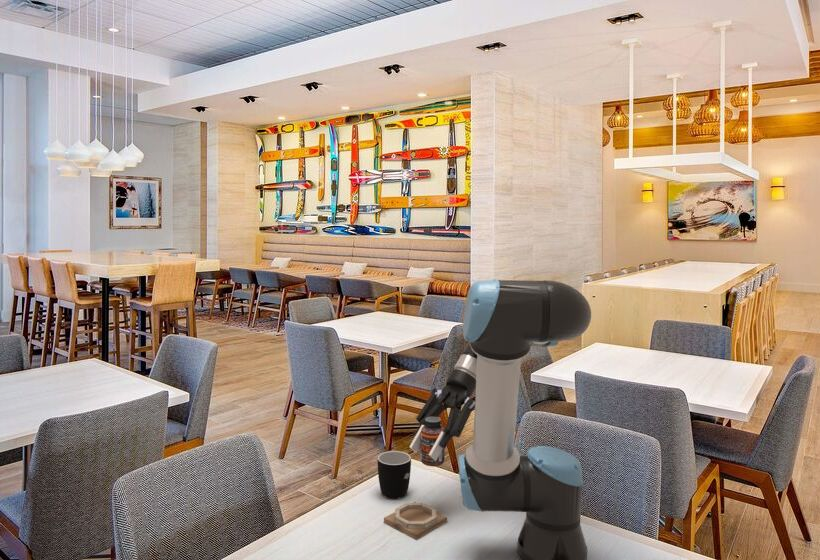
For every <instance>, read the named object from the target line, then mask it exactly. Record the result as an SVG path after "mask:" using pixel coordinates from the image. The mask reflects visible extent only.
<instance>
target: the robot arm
mask: <svg viewBox="0 0 820 560" xmlns="http://www.w3.org/2000/svg"><path fill="white" fill-rule="evenodd" d="M463 317H464V318H463V324H462V325H463V326H462V329H463V330H462V333H463V334H462V335H463V339H464V340H465V341H466V342H468V343H467V344H466V346H465V348H464V350H463V352H462V353H461V354H460V357H459V358H458V360H457V362H456V363H455V365H454V366H453V370H451V372H450V374H449V375H448V377H447V379H446V384H445V386H444V387H443V388H441V389H437V388H432V390H431V393H430V395H429V398H428V399H427V400H426V402H425V404H424V406H422V408H421V410H420V411H419V413H418V415H417V416H416V418H415V419H416V421H417V422H418V423H419V425H418V428H417V429H416V430H415V433H414V438H413V439H412V441H411V443H410V445H409V448H410V449H411V450H412V452H414V453H416V454H418V452H419V450H420V449H421V429H422V427H423V426H425V419H426V418H427V417H438V418H439V416H440V415H441V414H442V413H443V412H444V411H447V410H448V409H449V408H450V409H449V413H448V418H447V421H446V425H445V428H444V429H443V430H444V432H445V433H444V432H442V431H441V433H440V435H439V437H438V438H437V440H436V442H435V444H434V446H433V448H432V449H431V451H430V453H429V456H430V457H432V458H433V459H434V460H435V461H436V460H437V458H438V457H439V455H440V453H441V451H442V449H443V448H445V449H446V448H447V446H448V444H449V442H450V441H451V439H452V438H454V437H456V438H460V437H461V435H462V433H463V430H464V429H465V426H466V424H467V422H468V420H469V418H470V416H471V413H472V411H474V414H473V415H474V417H473V440H472V442H471V443H470V444H469V445H468V446H467V447H466V450H465V453H463V454H460V455H458V459H457V460H458V473H459V480H460V493H461V500H462V505H463V506H464V508H466V509H467V510H468V511H476V512H477V511H478V512H482V513H484V512H503V513H504V512H505V513H506V512H507V513H508V512H509V513H510V512H512V513H514V512H515V513H516V512H517V513H525V519H524V522H523V524H522V527H521V530H520V531H519V533H518V534H519V535H518V537H517V542H516V544H517V545H516V548H517V549H516V552H517V555H518V557H519V559H520V560H588V553H589V552H588V546H587V544H586V540H585V539H586V538H585V537H584V532H583V529H582V527H581V526H582V525H581V515H582V512H581V511H582V496H583V495H582V489H583V484H584V481H583V468H582V464H581V462H580V460H579V459H578V458H577V457H575V456H574V455H573V454H571V453H569V452H567V451H566V450H563V449H561V448H557V447H553V446H545V445H536V446H532V447H530V448H529V449H528V451H527V453H526V455H520V452H519V451H518V449H517V447H515V436H516V425H517V412H518V401H519V399H518V398H519V389H520V376H521V364H522V359H524V358H525V357H526V356H528V355H529V353H530V351H531V347H541V348H548V347H556V346H558V344H559V342H563V341H569V340H573V339H576V338H578V337H580V336H581V335H583V334H584V333H585V331H587V329H588V328H589V326H590V323H591V321H592V309H591V306H590V304H589V301H588V300H587V298H586V297H585V296H584V295H583V293H582V292H580V291H579V290H578V289H576V288H575V287H573V286H571V285H569V284H566V283H564V282H561V281H555V280H548V279H547V280H515V279H514V280H511V279H510V280H507V279H506V280H503V279H498V278H494V279H491V280H477V281H475V282H473V283H472V284H471V285H470V287H469V290H468V293H467V296H466V302H465V306H464V316H463ZM474 392H475V395H474V399H475V400H474V399H473V398H471V397H470V396H472V395H473V394H474Z"/></svg>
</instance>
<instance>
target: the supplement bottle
mask: <svg viewBox="0 0 820 560" xmlns="http://www.w3.org/2000/svg"><path fill="white" fill-rule="evenodd" d="M443 429H445V428H444V427H443V426H442V419H441V418H440V417H439V416H438V417H427V418H426V419H425V426H423V427H422V429H421V446H420V461H421V464H423V465H424V466H426V467H439V466H441V465H442V466H443V464H444V463H445V452H446V450H445V449H446V447H445V448H443V449H442V451H441V453H440V455H439V457H438V458H437V460H436V461H435V460H434V459H433V458H432V457H430V456H429V453H430V451H431V449H432V448H433V446H434V444H435V442H436V440H437V438H438V437H439V435H440V433H441V431H442V432H444V430H443ZM444 433H445V432H444Z"/></svg>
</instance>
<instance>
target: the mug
mask: <svg viewBox="0 0 820 560" xmlns="http://www.w3.org/2000/svg"><path fill="white" fill-rule="evenodd" d="M411 470H412V457H411V455H410V454H408V453H407V452H404V451H402V450H401V451H399V450H388V451H385V452H382V453H380V454H379V455H378V457H377V473H378V475H377V476H378V484H379V488H380V492H381V494H382V495H383V497H384V498H387V499H390V500H397V499H398V498H399V499H402V498H403V496H404V497H405V496H406V494H407V493H408V490H409V486H410V480H411V479H410V478H411ZM401 497H402V498H401ZM399 499H398V500H399Z"/></svg>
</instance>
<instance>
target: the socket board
mask: <svg viewBox="0 0 820 560" xmlns="http://www.w3.org/2000/svg"><path fill="white" fill-rule="evenodd" d="M394 510H395V511H394V512H393V513H390V514H389V515H387V516H384V517H383V523H384V524H386V525H387V526H390V527H392V528H394V530H395V529H396V531H400V532H401V533H403V534H405V535H407V536H408V537H410V538H411V539H412V538H413V539H415V540H416V539H418V540H419V539H421V538H422V536H423V537H424V536H426V535H427V534H430V533H431V532H433V531H435V530H436V529H438V528H440V527H442V526H443V525H445V524H447V523H448V516H446V515H443V514H442V513H439V512H437V510H436V507H434V506H431V505H429V504H427V503H425V502H416V501H413V502H406V503H404V504H402V505H400V506H398V507H396V508H395V509H394Z"/></svg>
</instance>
